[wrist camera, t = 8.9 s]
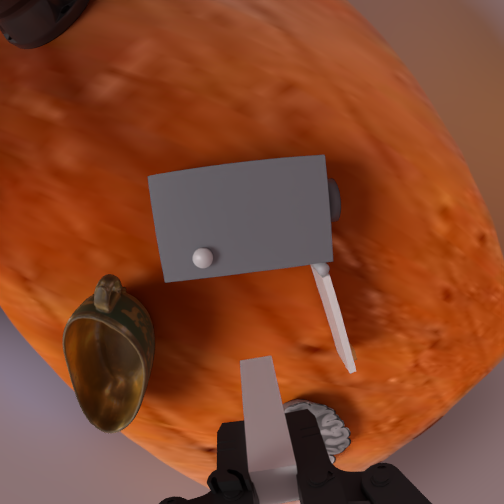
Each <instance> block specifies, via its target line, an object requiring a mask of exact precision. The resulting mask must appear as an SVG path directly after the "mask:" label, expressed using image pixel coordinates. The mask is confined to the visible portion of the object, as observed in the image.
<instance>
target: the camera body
mask: <svg viewBox="0 0 504 504" xmlns="http://www.w3.org/2000/svg"><path fill="white" fill-rule="evenodd" d="M148 183H149V190H150V198H151V205H152V211H153V218H154V224H155V230H156V236H157V242H158V248H159V253H160V259H161V264H162V270H163V275H164V280H165V283H167V282H176V281H184V280H193V279H201V278H209V277H218V276H226V275H234V274H242V273H250V272H257V271H265V270H273V269H280V268H288V267H295V266H303V265H310V264H317V263H325V262H332V261H333V250H332V233H331V222H335V221H338V220H339V217H340V213H341V200H340V193H339V189H338V186H337V184H336V182H335V180H334V179H332V178H331V179H327V172H326V162H325V155H314V156H300V157H287V158H276V159H266V160H256V161H247V162H238V163H230V164H222V165H215V166H207V167H200V168H194V169H187V170H181V171H174V172H168V173H162V174H157V175H151V176H148Z"/></svg>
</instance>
